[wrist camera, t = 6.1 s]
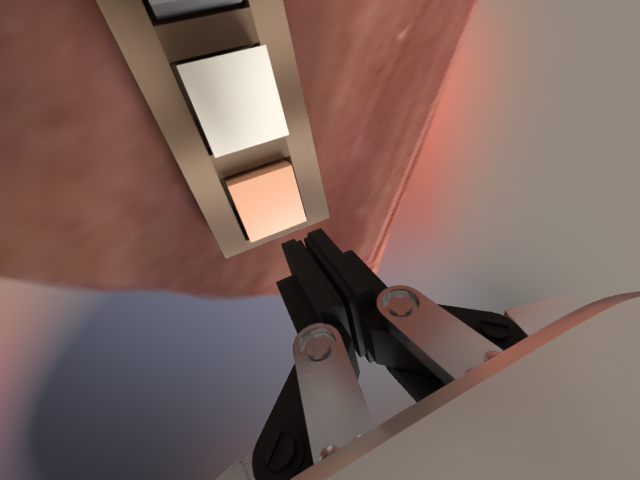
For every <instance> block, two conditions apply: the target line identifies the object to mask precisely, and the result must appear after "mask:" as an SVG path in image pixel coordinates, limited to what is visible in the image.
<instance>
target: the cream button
mask: <svg viewBox="0 0 640 480" xmlns="http://www.w3.org/2000/svg"><path fill="white" fill-rule="evenodd" d="M176 67H177V69H178V71H179V74H180V76H181V78H182V81H183V83H184V85H185V88H186V90H187V93H188V95H189V97H190V100H191V102H192V104H193V107H194V109H195V112H196V114H197V116H198V119H199V121H200V123H201V126H202V128H203V130H204V133H205V135H206V138H207V140H208V142H209V145H210V147H211V149H212V152H213V154H214V157H215V158H217V157H220V156H223V155H227V154H230V153H233V152H236V151H239V150H243V149H246V148H249V147H252V146H255V145H258V144H262V143H265V142H268V141H271V140H274V139H277V138H281V137H284V136H287V135H289V132H288V128H287V124H286V120H285V116H284V113H283V109H282V105H281V101H280V97H279V93H278V90H277V86H276V82H275V78H274V74H273V70H272V66H271V63H270V59H269V55H268V51H267V47H266V45H263V46H258V47H254V48H250V49H246V50H241V51H237V52H233V53H229V54H224V55H220V56H216V57H212V58H207V59H203V60H199V61H194V62H190V63H186V64H182V65H177V66H176Z"/></svg>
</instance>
